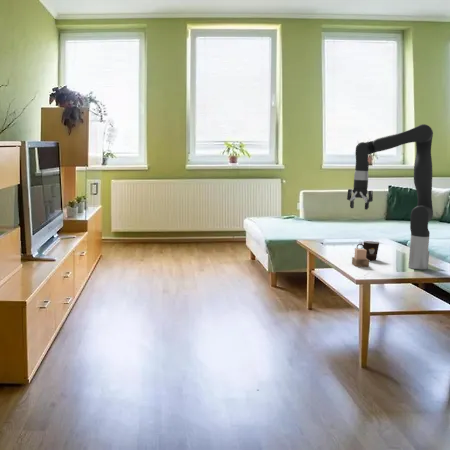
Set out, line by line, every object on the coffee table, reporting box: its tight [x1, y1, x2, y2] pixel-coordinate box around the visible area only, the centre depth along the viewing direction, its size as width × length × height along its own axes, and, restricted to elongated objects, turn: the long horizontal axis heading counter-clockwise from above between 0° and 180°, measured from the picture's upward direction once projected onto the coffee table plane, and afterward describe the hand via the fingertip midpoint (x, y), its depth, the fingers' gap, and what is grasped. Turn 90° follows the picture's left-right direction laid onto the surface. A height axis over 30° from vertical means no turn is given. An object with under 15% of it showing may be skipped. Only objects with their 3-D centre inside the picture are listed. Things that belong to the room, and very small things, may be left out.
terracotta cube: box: [353, 247, 367, 260], centre depth 295 cm, size 5×5×5 cm
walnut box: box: [351, 256, 370, 268], centre depth 295 cm, size 7×7×4 cm
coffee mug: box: [356, 240, 380, 262], centre depth 316 cm, size 12×9×10 cm
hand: (359, 208), depth 305 cm, fingers open, 8 cm apart
